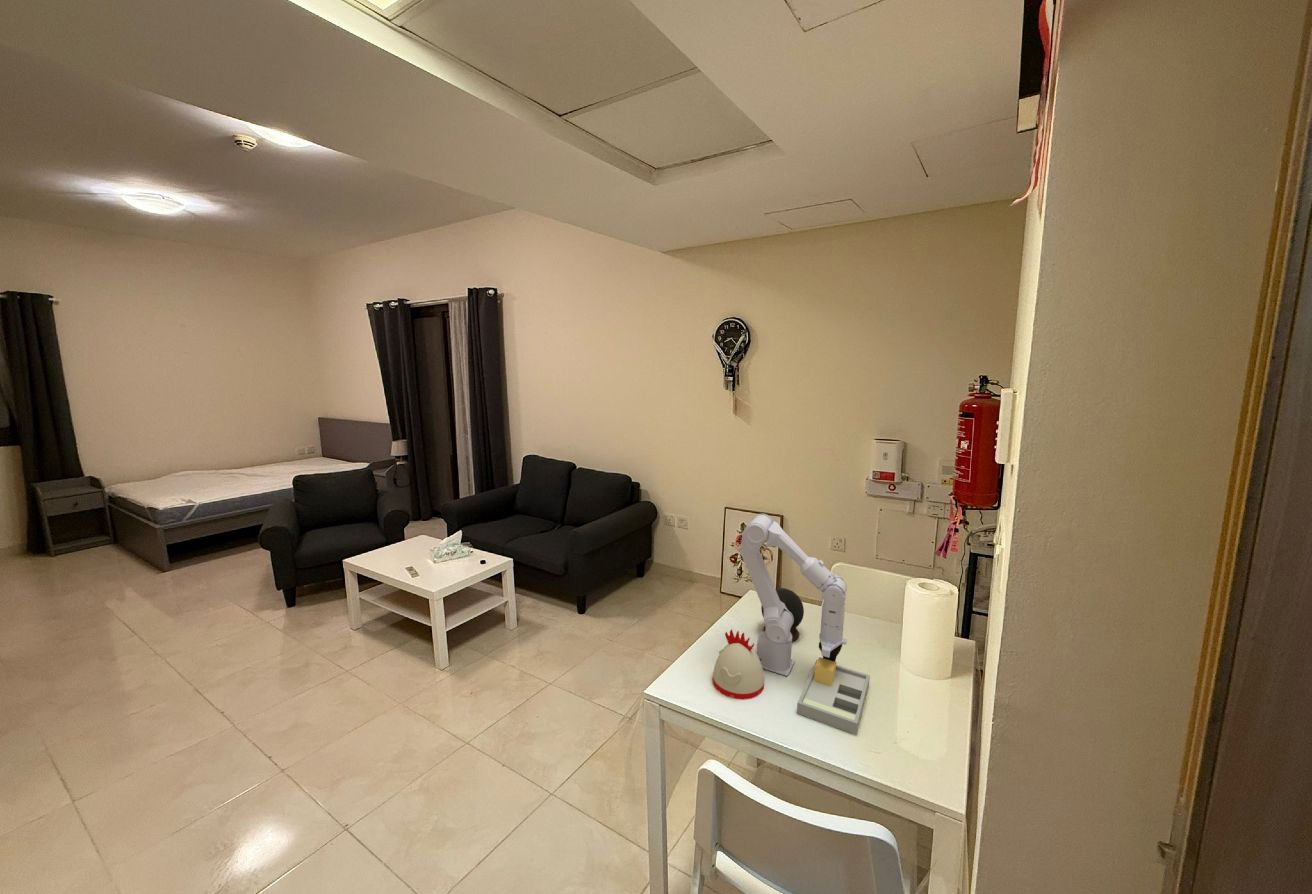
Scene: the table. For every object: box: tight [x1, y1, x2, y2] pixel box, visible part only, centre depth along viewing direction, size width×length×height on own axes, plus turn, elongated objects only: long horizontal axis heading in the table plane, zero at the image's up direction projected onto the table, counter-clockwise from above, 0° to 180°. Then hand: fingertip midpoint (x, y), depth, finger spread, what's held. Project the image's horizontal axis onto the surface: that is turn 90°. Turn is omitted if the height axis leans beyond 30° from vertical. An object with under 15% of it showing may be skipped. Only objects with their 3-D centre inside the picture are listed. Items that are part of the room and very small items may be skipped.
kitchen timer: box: [712, 628, 765, 700], centre depth 134 cm, size 14×14×15 cm
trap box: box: [796, 658, 871, 736], centre depth 129 cm, size 14×21×3 cm, turn 150°
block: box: [814, 656, 837, 686], centre depth 133 cm, size 4×4×4 cm
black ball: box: [761, 587, 805, 644], centre depth 158 cm, size 13×13×15 cm
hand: (828, 667), depth 137 cm, fingers closed
